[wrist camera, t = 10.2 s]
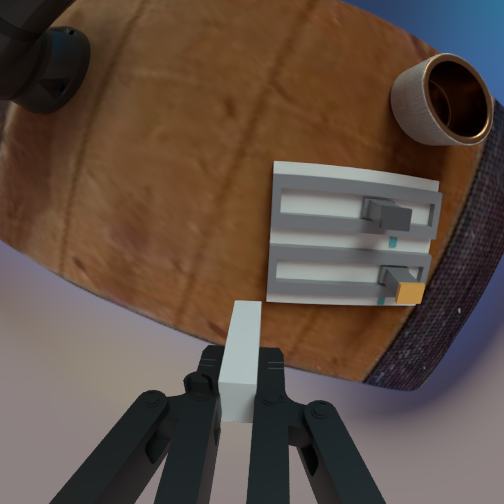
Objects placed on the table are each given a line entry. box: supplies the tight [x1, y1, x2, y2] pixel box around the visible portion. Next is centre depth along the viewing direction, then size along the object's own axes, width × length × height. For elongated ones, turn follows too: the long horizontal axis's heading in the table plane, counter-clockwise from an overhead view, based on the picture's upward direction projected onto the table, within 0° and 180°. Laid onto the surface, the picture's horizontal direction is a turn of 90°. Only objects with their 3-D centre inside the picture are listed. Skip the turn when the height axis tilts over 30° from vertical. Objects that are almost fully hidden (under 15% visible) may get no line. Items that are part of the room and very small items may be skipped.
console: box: [266, 161, 442, 305], centre depth 35 cm, size 18×22×3 cm
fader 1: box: [362, 197, 413, 232], centre depth 30 cm, size 2×4×6 cm, turn 88°
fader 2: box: [378, 265, 425, 304], centre depth 33 cm, size 2×4×6 cm, turn 88°
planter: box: [390, 53, 493, 146], centre depth 26 cm, size 11×11×10 cm
